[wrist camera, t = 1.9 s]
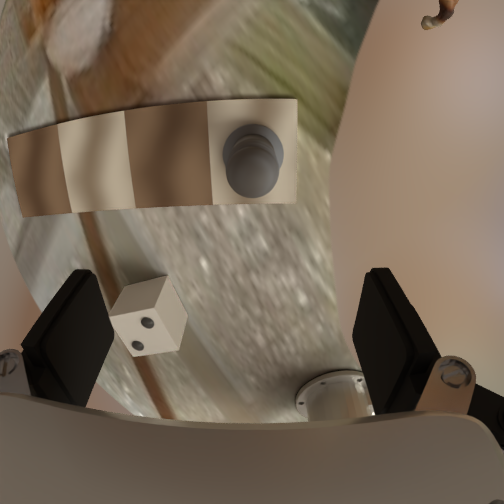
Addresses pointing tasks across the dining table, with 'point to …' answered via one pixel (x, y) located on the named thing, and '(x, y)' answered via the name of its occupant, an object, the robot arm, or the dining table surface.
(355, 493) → the robot arm
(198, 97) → the dining table surface
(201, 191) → the game board
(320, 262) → the dining table surface
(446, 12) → the horse figurine
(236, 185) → the pawn
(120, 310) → the die
